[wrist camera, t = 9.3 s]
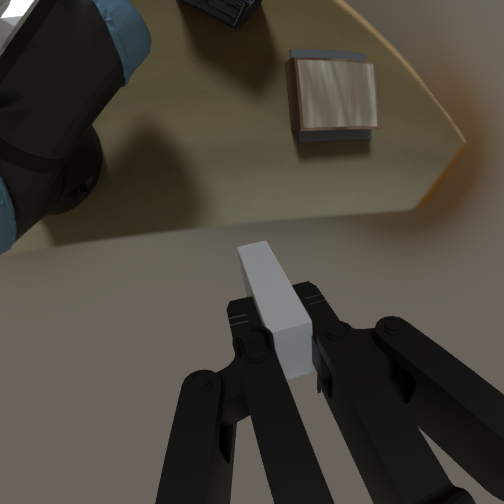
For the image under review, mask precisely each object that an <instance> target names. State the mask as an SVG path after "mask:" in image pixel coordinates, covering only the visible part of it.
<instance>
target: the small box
mask: <svg viewBox="0 0 504 504" xmlns="http://www.w3.org/2000/svg"><path fill="white" fill-rule="evenodd" d="M181 1H183V2H185V3H187V4H189V5H191V6H193V7H195V8H197V9H199V10H201V11H203V12H205V13H207V14H209V15H211V16H213V17H215V18H216V19H218V20H220V21H222V22H224V23H225V24H227V25H229V26H231V27H233V28H234V29H236V30H237V29H240V27H241V26H242V24H243V23H244V22H245V21H246V20H247V18H248V17H249V16H250V15H251V14H252V12H253V11H255V10H256V9H257V7H258V6H259V4H260V3H261V2H262V0H181Z"/></svg>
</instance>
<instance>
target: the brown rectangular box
mask: <svg viewBox="0 0 504 504" xmlns="http://www.w3.org/2000/svg"><path fill="white" fill-rule="evenodd" d="M285 67H286V76H287V86H288V96H289V107H290V118H291V130H296V131H316V130H341V129H379V110H378V93H377V81H376V70H375V62H368V61H359V60H349V59H335V58H314V57H293V58H291V59H290V60H288V61H286V62H285Z"/></svg>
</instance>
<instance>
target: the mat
mask: <svg viewBox="0 0 504 504" xmlns="http://www.w3.org/2000/svg"><path fill="white" fill-rule="evenodd" d="M290 54H291V58H293V57H314V58H335V59H349V60H359V61H366V57H365V54H363V53H354V52H343V51H330V50H311V49H290ZM298 138H299V143H304V142H319V141H337V140H367V139H371V129H341V130H316V131H298Z"/></svg>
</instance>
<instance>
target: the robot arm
mask: <svg viewBox="0 0 504 504" xmlns="http://www.w3.org/2000/svg"><path fill="white" fill-rule="evenodd" d="M150 47H151V36H150V32H149V30H148V28H147V25H146V24H145V22H144V20H143V19H142V17H141V16H140V14H139V13H138V11H137V10H136V9H135V7H134V6H133V5H132V4H131V3H130V1H129V0H0V255H1V254H2V253H4V252H6V251H8V250H9V249H10V248H11V246H12V245H13V244H14V243H15V242H16V241H17V240H18V239H19V238H20V237H21V236H22V235H23V234H24V233H26V232H27V231H28V230H29V229H30V228H31V227H32V226H34V225H35V224H36V223H37V222H38V221H39V220H41V219H42V218H43V217H44V216H45V215H54V214H61V213H64V212H67V211H69V210H71V209H73V208H74V207H76V206H77V205H78V204H80V203H81V202H82V201H83V200H84V199H85V198H86V197H87V196H88V195H89V194H90V193H91V191H92V190H93V188H94V186H95V184H96V182H97V180H98V177H99V174H100V170H101V163H102V152H101V145H100V141H99V138H98V135H97V133H96V131H95V129H94V128H93V126H92V124H93V122H94V121H95V119H96V118H97V117H98V115H99V114H100V113H101V111H102V110H103V109H104V107H105V106H106V105H107V104H108V102H109V101H110V100H111V99H112V97H113V96H114V95H115V94H116V92H117V91H118V90H119V89H120V88H121V87H124V86H126V84H127V83H128V81H129V79H130V76H131V75H132V74H133V73H134V71H135V70H136V69H137V68H138V67H139V65H140V64H141V63H142V62H143V61H144V60H145V58H146V57H147V56H148V54H149V52H150ZM237 249H238V254H239V259H240V264H241V269H242V274H243V280H244V285H245V290H246V293H247V296H248V297H246V298H242V299H238V300H233V301H230V302H229V305H228V307H227V313H228V318H229V323H230V328H231V332H232V337H233V347H234V351H235V358H234V360H233V361H232V363H231V364H230V365H229V366H227V367H226V368H224V369H222V370H220V371H218V372H217V373H215V372H213V371H211V370H198V371H195V372H193V373H191V374H189V376H187V377H186V378H185V380H184V382H183V384H182V387H181V391H180V395H179V399H178V403H177V407H176V412H175V416H174V420H173V425H172V429H171V433H170V438H169V442H168V446H167V451H166V455H165V460H164V465H163V470H162V474H161V478H160V483H159V488H158V493H157V498H156V503H155V504H230V498H231V485H232V474H233V462H234V450H235V437H236V426H237V422H238V421H240V420H242V419H244V418H246V417H247V416H249V415H251V419H252V423H253V427H254V431H255V434H256V439H257V443H258V446H259V450H260V454H261V458H262V461H263V465H264V469H265V472H266V476H267V480H268V483H269V487H270V490H271V494H272V497H273V501H274V504H334V501H333V499H332V496H331V494H330V491H329V489H328V486H327V484H326V481H325V479H324V476H323V474H322V471H321V468H320V466H319V463H318V461H317V458H316V456H315V453H314V451H313V448H312V445H311V443H310V441H309V438H308V435H307V433H306V430H305V427H304V425H303V422H302V420H301V417H300V414H299V412H298V409H297V407H296V404H295V402H294V399H293V396H292V393H291V391H290V388H289V386H288V383H287V380H288V379H292V378H295V377H299V376H302V375H306V374H309V373H312V372H313V365H314V367H315V369H316V371H317V391H318V393H320V392H321V389H322V392H323V394H324V396H325V398H326V401H327V403H328V405H329V407H330V409H331V411H332V414H333V415H334V418H335V420H336V422H337V424H338V427H339V429H340V431H341V433H342V435H343V437H344V440H345V442H346V444H347V446H348V448H349V451H350V453H351V455H352V457H353V459H354V461H355V463H356V466H357V468H358V470H359V472H360V475H361V477H362V479H363V481H364V483H365V485H366V488H367V490H368V492H369V494H370V496H371V499H372V501H373V503H374V504H476V503H475V501H474V500H473V498H472V496H471V495H470V494H469V492H467V491H466V490H465V489H463V488H459V487H455V486H454V485H453V484H452V483H451V481H450V480H449V478H448V476H447V475H446V473H445V471H444V470H443V468H442V466H441V465H440V463H439V461H438V459H437V458H436V456H435V455H434V453H433V451H432V450H431V448H430V446H429V445H428V443H427V441H426V440H425V438H424V436H423V435H422V433H421V432H420V430H419V428H420V429H421V430H422V431H423V432H424V433H425V434H426V435H428V436H429V437H430V438H431V439H432V440H433V441H434V442H435V443H436V444H437V445H438V446H439V447H441V449H442V450H443V451H445V452H446V453H447V454H448V455H449V456H450V457H451V458H452V459H453V460H454V461H455V462H456V463H458V464H459V465H460V466H461V467H462V468H463V469H464V470H465V471H466V472H467V473H468V474H469V475H470V476H471V477H473V478H474V479H475V480H476V481H477V482H478V483H479V484H480V485H481V486H482V487H483V488H484V489H486V490H487V491H488V492H490V493H491V494H492V495H493V496H495V497H497V498H498V499H500V500H502V501H504V395H503V394H502V393H501V392H500V391H498V390H497V389H496V388H495V387H493V386H492V385H491V384H489V383H488V382H487V381H486V380H484V379H483V378H482V377H480V376H479V375H478V374H477V373H475V372H474V371H472V370H471V369H470V368H468V367H467V366H466V365H465V364H463V363H462V362H461V361H459V360H458V359H457V358H455V357H454V356H453V355H452V354H450V353H449V352H447V351H446V350H445V349H443V348H442V347H441V346H439V345H438V344H437V343H435V342H434V341H433V340H431V339H430V338H429V337H427V336H426V335H424V334H423V333H422V332H420V331H419V330H417V329H416V328H415V327H413V326H412V325H411V324H409V323H408V322H406V321H405V320H403V319H402V318H400V317H395V316H388V317H384V318H382V319H380V320H379V321H378V322H377V323H376V326H375V328H369V329H354V328H352V327H351V326H350V325H349V324H348V323H345V322H343V321H340V320H339V319H338V317H337V316H336V314H335V313H334V311H333V310H332V308H331V307H330V306H329V304H328V302H327V301H326V300H325V298H324V296H323V295H322V294H321V292H320V291H319V289H318V288H317V286H315V285H314V284H312V283H310V282H308V281H307V282H303V283H299V284H295V285H291V284H290V282H289V280H288V279H287V277H286V275H285V273H284V271H283V269H282V268H281V266H280V264H279V263H278V261H277V259H276V257H275V256H274V254H273V252H272V251H271V249H270V247H269V245H268V243H267V242H266V241H262V242H257V243H253V244H249V245H244V246H240V247H237ZM417 426H418V427H419V428H418V427H417Z"/></svg>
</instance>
